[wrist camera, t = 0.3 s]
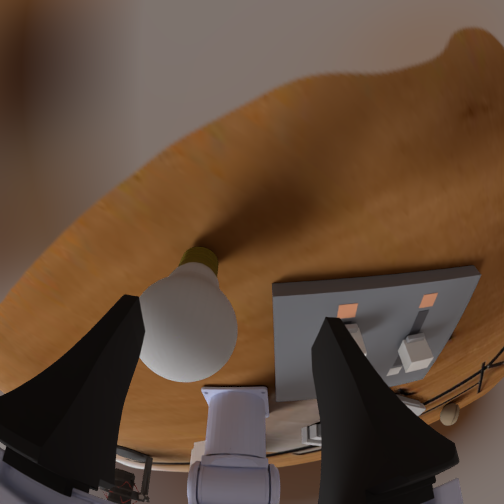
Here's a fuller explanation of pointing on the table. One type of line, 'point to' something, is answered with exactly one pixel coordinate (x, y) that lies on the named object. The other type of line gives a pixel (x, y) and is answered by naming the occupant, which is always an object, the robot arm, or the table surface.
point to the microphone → (130, 479)
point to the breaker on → (356, 336)
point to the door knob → (449, 414)
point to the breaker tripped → (415, 353)
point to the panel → (366, 320)
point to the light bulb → (188, 321)
